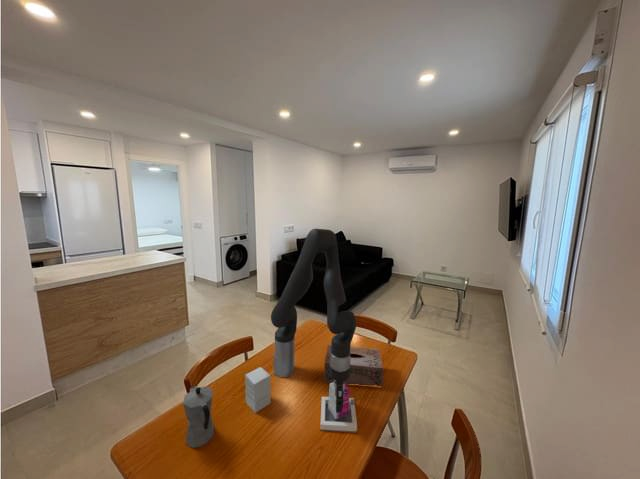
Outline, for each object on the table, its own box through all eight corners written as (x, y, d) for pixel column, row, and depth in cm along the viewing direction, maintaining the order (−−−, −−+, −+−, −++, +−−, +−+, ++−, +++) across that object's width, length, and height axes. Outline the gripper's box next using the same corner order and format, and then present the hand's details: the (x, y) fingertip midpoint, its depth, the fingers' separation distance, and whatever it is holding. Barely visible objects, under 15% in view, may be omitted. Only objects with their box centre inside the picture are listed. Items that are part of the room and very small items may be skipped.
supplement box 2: (335, 421, 92) (336, 393, 90) (327, 409, 97) (328, 382, 95) (348, 415, 94) (350, 388, 93) (340, 404, 100) (341, 378, 98)
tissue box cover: (324, 382, 114) (324, 362, 112) (326, 363, 128) (327, 344, 126) (381, 388, 111) (383, 368, 109) (378, 367, 125) (379, 349, 124)
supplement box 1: (261, 393, 106) (261, 366, 104) (271, 403, 101) (271, 375, 99) (245, 402, 101) (244, 374, 99) (254, 414, 96) (254, 384, 94)
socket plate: (320, 430, 90) (320, 423, 89) (321, 401, 102) (321, 395, 102) (356, 432, 89) (357, 425, 89) (353, 403, 102) (353, 397, 101)
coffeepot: (179, 430, 88) (176, 384, 85) (207, 415, 94) (205, 372, 92) (193, 464, 77) (191, 412, 74) (224, 444, 83) (222, 396, 81)
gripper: (330, 351, 100) (328, 388, 102) (329, 376, 86) (328, 418, 88) (348, 352, 100) (347, 389, 102) (351, 377, 85) (349, 420, 88)
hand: (338, 403), depth 95 cm, fingers closed on supplement box 2, 7 cm apart
